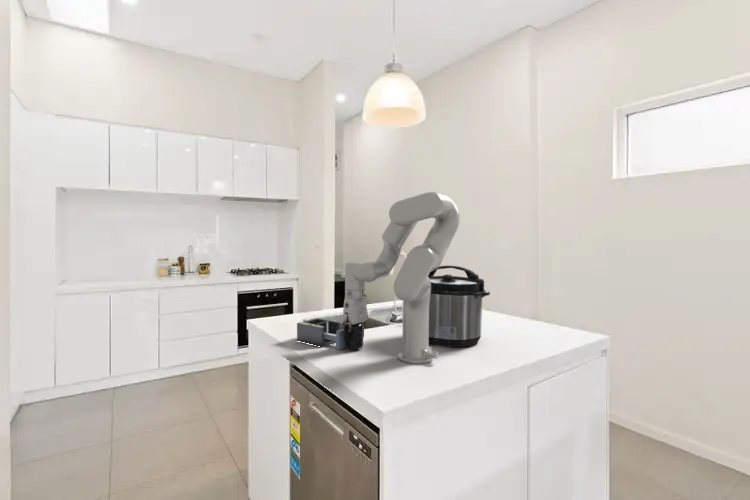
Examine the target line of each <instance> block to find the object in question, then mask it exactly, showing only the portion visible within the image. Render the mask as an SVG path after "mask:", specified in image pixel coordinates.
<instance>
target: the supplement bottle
mask: <svg viewBox="0 0 750 500" xmlns="http://www.w3.org/2000/svg"><path fill="white" fill-rule="evenodd" d="M349 323H350V322H349ZM348 327H349V325H348ZM351 331H352V342H349V341H346V347H345V348H347V349H350V350H357V349H361V348H363V345H364V337H363V324H362V323H358V324H355V325H353V326H352V329H351Z"/></svg>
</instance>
